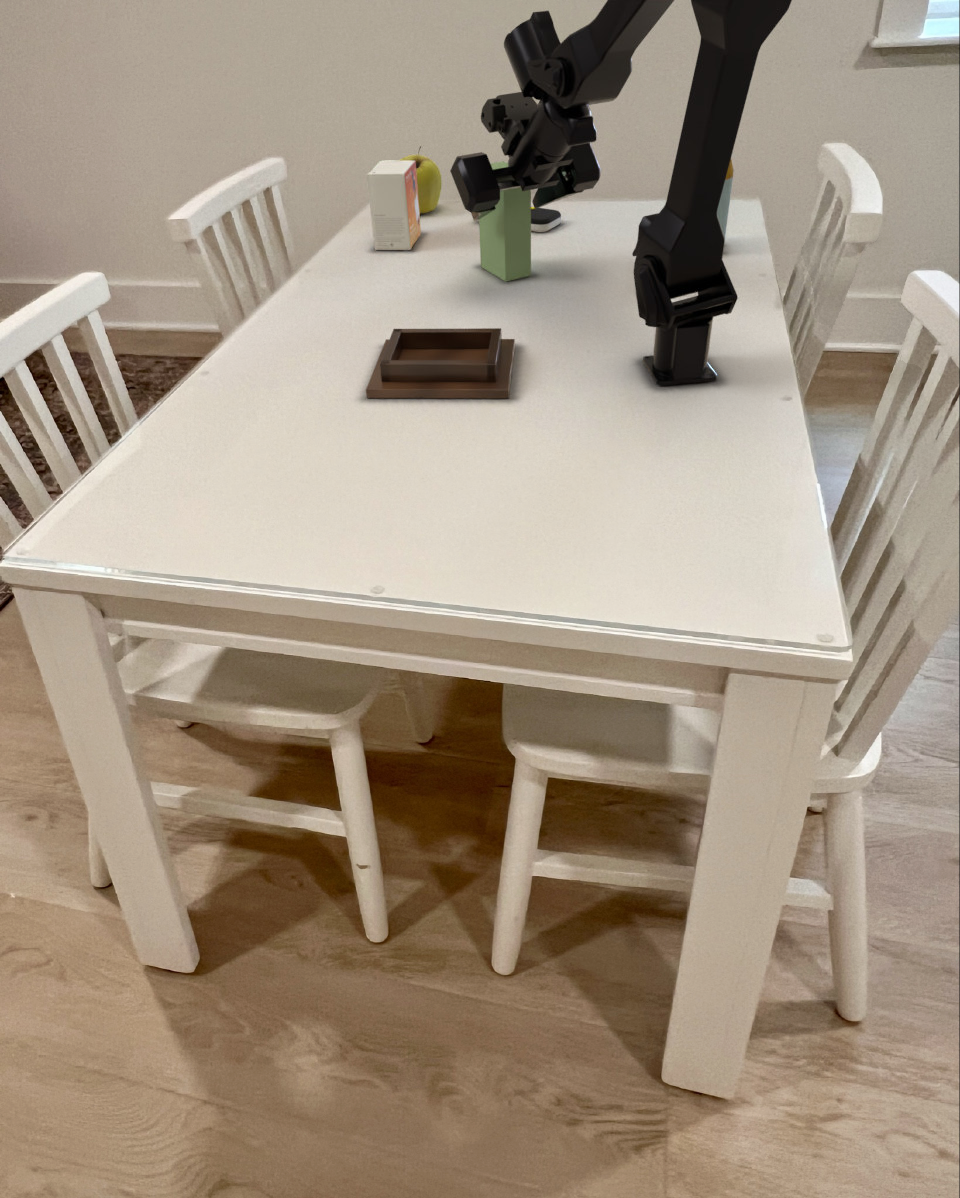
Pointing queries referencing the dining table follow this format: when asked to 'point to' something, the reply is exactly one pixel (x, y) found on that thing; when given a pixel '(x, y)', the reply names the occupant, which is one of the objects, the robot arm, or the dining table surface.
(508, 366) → the mount dock
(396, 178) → the small box
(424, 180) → the apple
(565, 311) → the dining table surface
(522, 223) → the green rectangular block
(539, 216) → the remote control
